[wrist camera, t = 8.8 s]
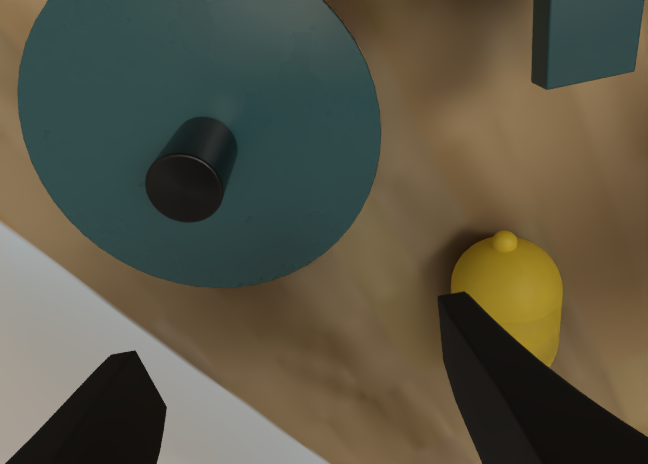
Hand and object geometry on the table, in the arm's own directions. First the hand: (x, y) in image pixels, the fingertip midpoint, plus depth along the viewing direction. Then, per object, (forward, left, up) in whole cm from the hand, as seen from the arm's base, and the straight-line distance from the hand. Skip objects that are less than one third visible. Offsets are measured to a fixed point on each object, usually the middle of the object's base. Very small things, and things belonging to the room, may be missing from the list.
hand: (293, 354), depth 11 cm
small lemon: (-8, +8, -10) cm, 15 cm away
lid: (+3, -3, -10) cm, 10 cm away
